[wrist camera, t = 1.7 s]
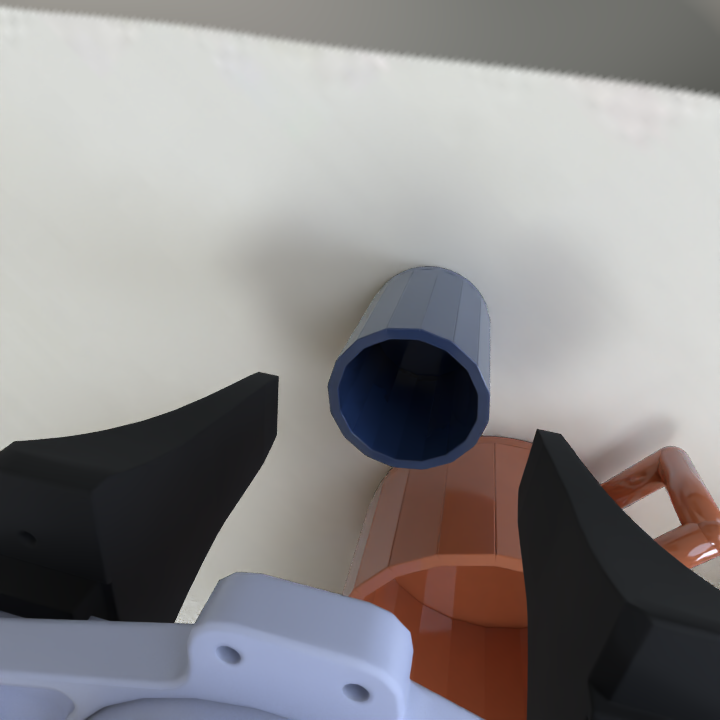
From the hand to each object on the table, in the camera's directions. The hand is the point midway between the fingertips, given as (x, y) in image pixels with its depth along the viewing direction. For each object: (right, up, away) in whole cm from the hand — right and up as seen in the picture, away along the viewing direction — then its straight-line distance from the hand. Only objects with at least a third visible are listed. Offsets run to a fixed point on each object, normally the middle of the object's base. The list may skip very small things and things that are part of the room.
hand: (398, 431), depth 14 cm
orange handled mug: (+7, -6, +10) cm, 14 cm away
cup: (+2, +4, +7) cm, 8 cm away
